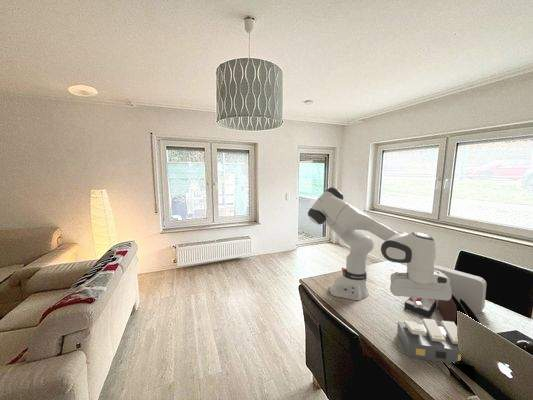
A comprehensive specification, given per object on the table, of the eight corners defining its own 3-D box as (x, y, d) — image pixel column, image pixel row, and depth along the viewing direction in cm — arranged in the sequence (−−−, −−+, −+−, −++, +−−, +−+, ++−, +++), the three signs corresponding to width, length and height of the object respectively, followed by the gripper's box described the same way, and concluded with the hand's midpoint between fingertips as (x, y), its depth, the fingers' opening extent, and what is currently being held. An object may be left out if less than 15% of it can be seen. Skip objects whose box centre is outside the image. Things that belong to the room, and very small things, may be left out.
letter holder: (452, 334, 98) (454, 305, 97) (436, 308, 117) (438, 283, 115) (480, 340, 95) (483, 309, 93) (460, 312, 113) (462, 287, 111)
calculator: (437, 300, 119) (429, 310, 109) (436, 307, 119) (428, 318, 109) (413, 292, 127) (404, 301, 117) (413, 299, 127) (404, 308, 118)
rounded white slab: (485, 310, 114) (488, 277, 112) (481, 315, 110) (484, 281, 108) (422, 287, 138) (424, 260, 136) (417, 291, 134) (418, 263, 131)
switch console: (408, 357, 87) (409, 340, 86) (397, 333, 100) (397, 319, 99) (474, 367, 81) (476, 349, 81) (453, 341, 94) (455, 325, 93)
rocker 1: (412, 333, 87) (412, 329, 88) (404, 324, 96) (404, 320, 96) (425, 335, 86) (424, 330, 87) (415, 325, 95) (415, 321, 95)
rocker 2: (431, 340, 86) (432, 337, 86) (422, 321, 94) (422, 318, 94) (444, 342, 85) (445, 339, 85) (433, 322, 93) (434, 319, 93)
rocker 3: (452, 343, 85) (453, 340, 84) (440, 323, 93) (441, 320, 92) (466, 345, 84) (467, 342, 83) (453, 324, 92) (453, 321, 91)
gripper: (393, 275, 85) (392, 308, 86) (455, 280, 80) (452, 315, 81) (388, 268, 91) (387, 299, 92) (445, 272, 86) (443, 305, 87)
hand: (418, 307), depth 87 cm, fingers closed
